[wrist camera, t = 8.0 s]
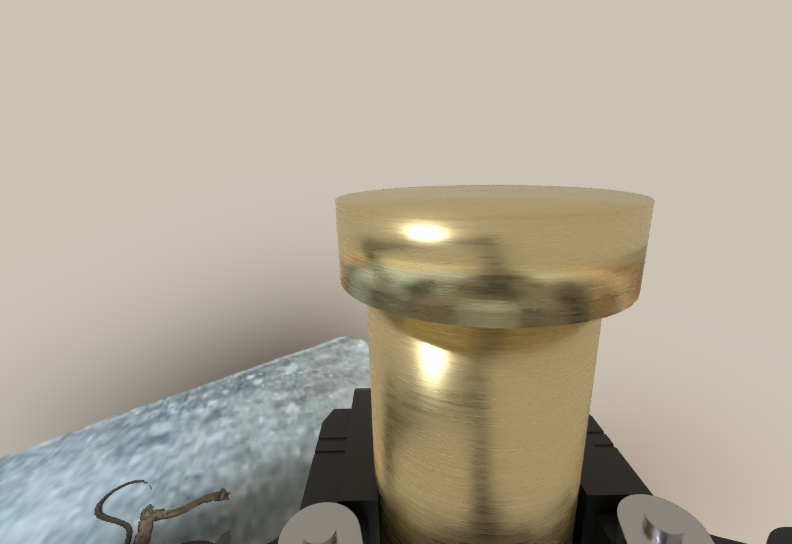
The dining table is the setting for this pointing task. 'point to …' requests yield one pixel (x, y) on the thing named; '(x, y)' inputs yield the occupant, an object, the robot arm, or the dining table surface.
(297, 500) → the dining table surface
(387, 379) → the pin
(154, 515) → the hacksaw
